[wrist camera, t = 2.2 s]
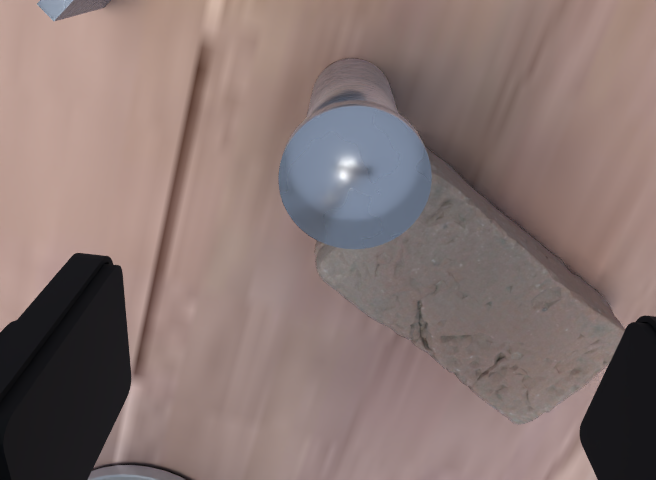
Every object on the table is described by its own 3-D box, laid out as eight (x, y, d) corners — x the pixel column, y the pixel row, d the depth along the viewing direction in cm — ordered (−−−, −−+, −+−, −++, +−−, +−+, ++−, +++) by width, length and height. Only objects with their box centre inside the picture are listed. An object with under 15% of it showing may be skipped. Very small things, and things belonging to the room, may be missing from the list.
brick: (308, 235, 32) (303, 280, 28) (409, 126, 28) (421, 158, 24) (503, 377, 36) (524, 434, 32) (609, 298, 33) (647, 349, 29)
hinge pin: (421, 107, 28) (461, 195, 18) (342, 165, 29) (341, 273, 20) (361, 24, 26) (370, 73, 16) (281, 91, 27) (246, 170, 18)
